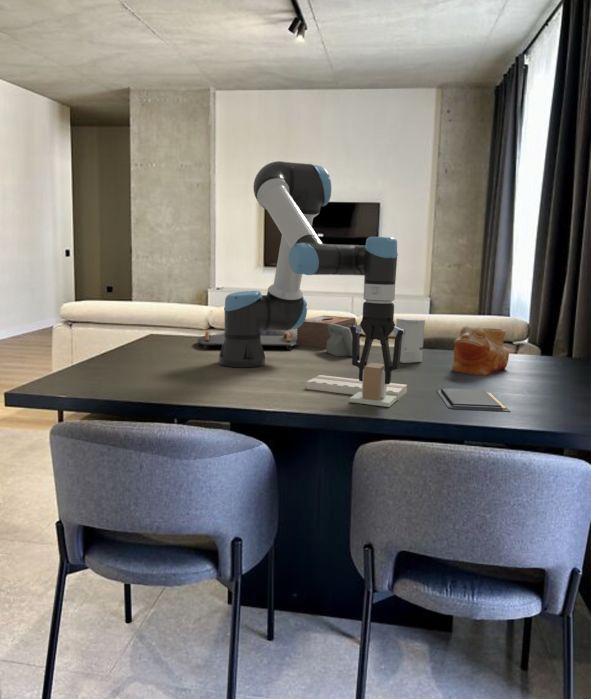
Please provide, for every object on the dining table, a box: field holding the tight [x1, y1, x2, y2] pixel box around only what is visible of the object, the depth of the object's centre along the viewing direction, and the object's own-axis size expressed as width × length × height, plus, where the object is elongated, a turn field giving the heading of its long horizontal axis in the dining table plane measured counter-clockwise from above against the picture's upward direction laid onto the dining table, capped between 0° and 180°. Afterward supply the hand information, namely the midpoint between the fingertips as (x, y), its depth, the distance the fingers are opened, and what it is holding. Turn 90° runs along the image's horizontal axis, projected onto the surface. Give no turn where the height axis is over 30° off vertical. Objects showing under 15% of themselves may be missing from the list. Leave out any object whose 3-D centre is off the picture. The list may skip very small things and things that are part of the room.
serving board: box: [196, 329, 297, 351], centre depth 228 cm, size 39×23×6 cm, turn 97°
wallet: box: [435, 388, 511, 413], centre depth 150 cm, size 20×2×15 cm
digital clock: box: [325, 323, 352, 357], centre depth 215 cm, size 16×9×11 cm, turn 10°
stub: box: [349, 362, 398, 408], centre depth 146 cm, size 10×8×9 cm
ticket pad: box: [305, 374, 408, 401], centre depth 158 cm, size 25×10×2 cm, turn 67°
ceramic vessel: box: [451, 325, 510, 376], centre depth 191 cm, size 14×26×15 cm, turn 138°
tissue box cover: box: [296, 314, 356, 349], centre depth 240 cm, size 26×14×10 cm, turn 153°
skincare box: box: [395, 317, 426, 364], centre depth 203 cm, size 8×6×15 cm
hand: (374, 395), depth 146 cm, fingers closed on stub, 4 cm apart
